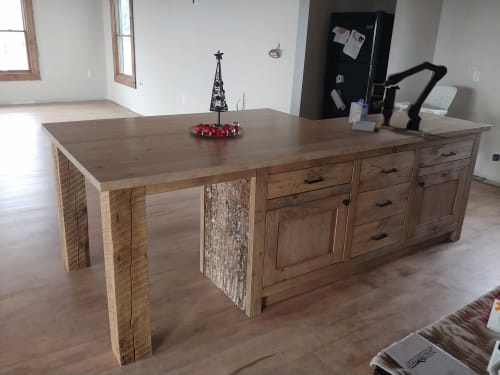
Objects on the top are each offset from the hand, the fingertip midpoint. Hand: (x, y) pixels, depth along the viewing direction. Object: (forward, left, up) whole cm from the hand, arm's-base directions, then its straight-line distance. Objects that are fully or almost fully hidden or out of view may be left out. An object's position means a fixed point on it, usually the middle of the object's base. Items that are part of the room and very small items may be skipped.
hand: (385, 124), depth 259 cm
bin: (+11, +11, -3) cm, 16 cm away
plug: (0, 0, -2) cm, 2 cm away
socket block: (0, 0, -3) cm, 3 cm away
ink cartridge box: (+17, -8, -3) cm, 19 cm away
